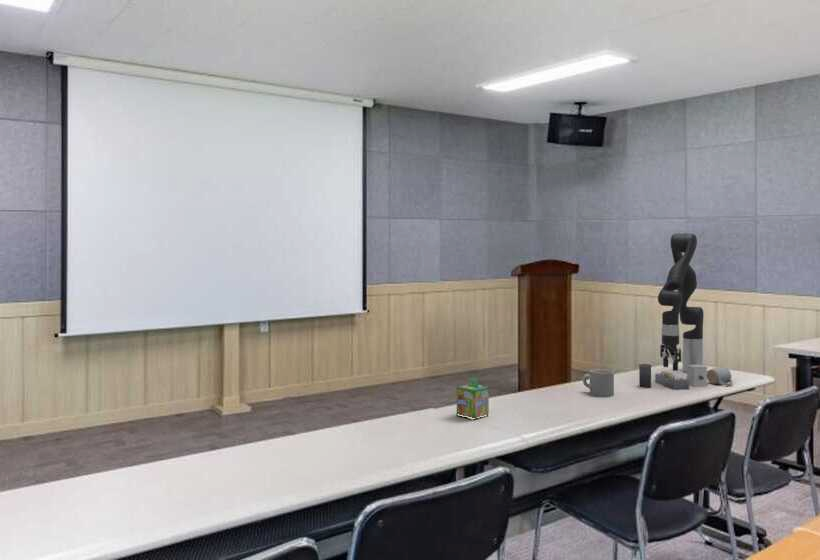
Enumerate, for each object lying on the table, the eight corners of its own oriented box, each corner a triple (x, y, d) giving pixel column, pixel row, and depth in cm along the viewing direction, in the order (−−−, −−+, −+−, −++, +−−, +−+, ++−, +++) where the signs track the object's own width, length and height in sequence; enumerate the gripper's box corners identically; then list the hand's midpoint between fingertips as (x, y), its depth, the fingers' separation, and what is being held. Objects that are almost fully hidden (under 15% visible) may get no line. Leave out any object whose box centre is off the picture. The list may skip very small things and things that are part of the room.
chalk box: (455, 416, 242) (455, 378, 241) (471, 412, 248) (470, 374, 248) (474, 420, 235) (473, 381, 235) (489, 416, 242) (489, 377, 241)
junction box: (686, 383, 293) (686, 364, 293) (699, 383, 294) (699, 364, 293) (695, 386, 286) (695, 367, 285) (708, 386, 286) (708, 367, 286)
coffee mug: (618, 394, 274) (618, 371, 274) (605, 397, 268) (605, 374, 267) (592, 389, 284) (591, 367, 284) (578, 392, 278) (578, 370, 278)
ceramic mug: (705, 382, 294) (705, 366, 293) (718, 381, 297) (718, 365, 296) (723, 387, 284) (723, 370, 283) (737, 386, 287) (737, 369, 286)
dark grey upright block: (636, 385, 290) (636, 364, 289) (648, 385, 291) (648, 363, 290) (642, 388, 285) (642, 366, 284) (653, 387, 285) (653, 366, 285)
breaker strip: (655, 382, 298) (655, 370, 297) (669, 381, 298) (669, 369, 298) (673, 389, 281) (673, 377, 280) (688, 389, 281) (688, 376, 281)
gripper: (655, 332, 296) (655, 366, 297) (670, 336, 282) (670, 372, 283) (670, 331, 297) (670, 365, 298) (686, 335, 283) (686, 371, 284)
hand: (670, 368), depth 290 cm, fingers open, 8 cm apart
